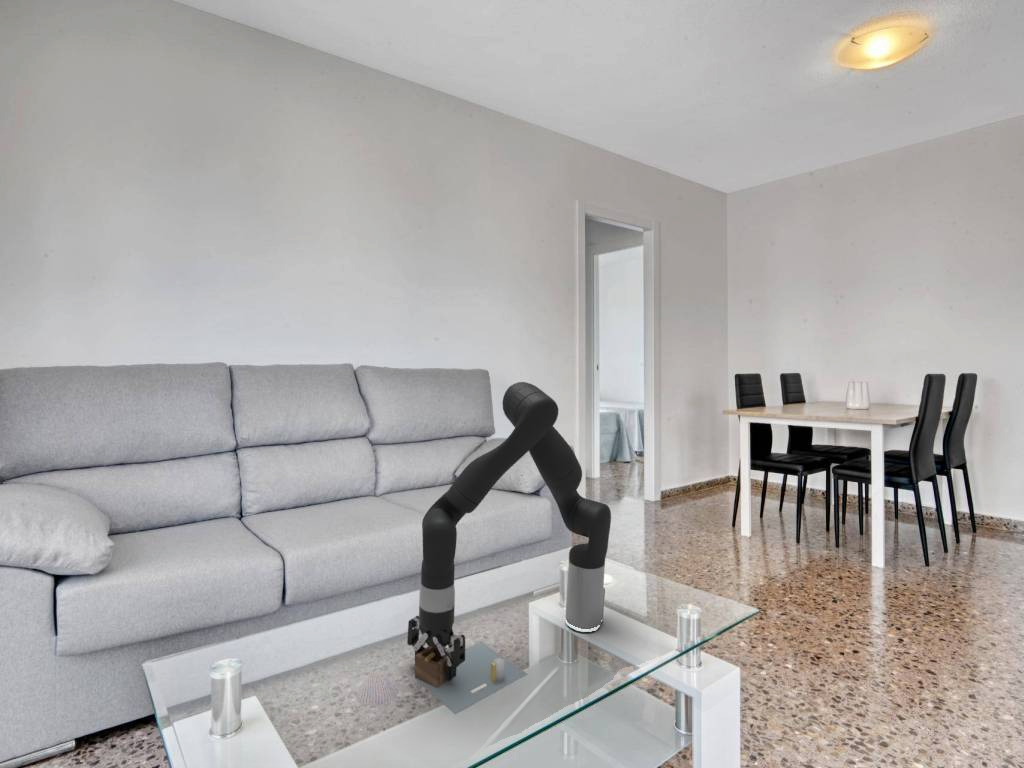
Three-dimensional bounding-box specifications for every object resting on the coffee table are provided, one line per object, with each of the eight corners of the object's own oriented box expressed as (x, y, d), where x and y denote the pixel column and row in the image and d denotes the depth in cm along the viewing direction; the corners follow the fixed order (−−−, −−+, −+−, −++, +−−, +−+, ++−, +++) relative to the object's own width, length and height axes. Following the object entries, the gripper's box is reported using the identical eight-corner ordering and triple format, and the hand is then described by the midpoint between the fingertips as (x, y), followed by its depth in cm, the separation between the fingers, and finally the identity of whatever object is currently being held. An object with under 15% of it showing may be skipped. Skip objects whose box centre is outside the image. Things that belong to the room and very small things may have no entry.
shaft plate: (481, 646, 142) (481, 625, 141) (527, 678, 131) (528, 657, 130) (410, 679, 129) (410, 657, 128) (455, 719, 117) (455, 695, 116)
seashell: (394, 663, 130) (408, 680, 121) (394, 688, 129) (408, 707, 120) (347, 673, 125) (358, 692, 116) (347, 700, 125) (358, 721, 116)
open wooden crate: (433, 663, 133) (433, 639, 132) (455, 673, 130) (455, 649, 129) (414, 677, 128) (415, 653, 127) (437, 688, 124) (437, 663, 124)
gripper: (400, 598, 127) (398, 668, 129) (452, 620, 119) (450, 693, 122) (423, 585, 133) (421, 652, 135) (474, 604, 126) (471, 675, 128)
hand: (435, 671), depth 128 cm, fingers open, 8 cm apart
